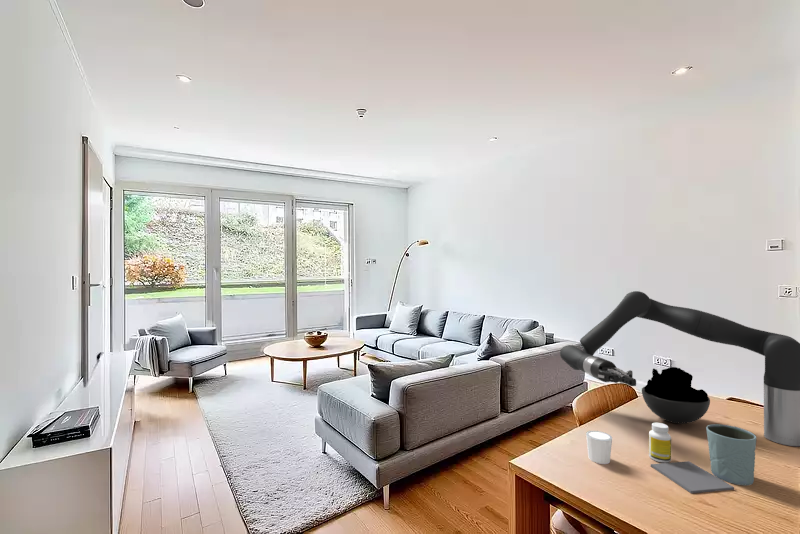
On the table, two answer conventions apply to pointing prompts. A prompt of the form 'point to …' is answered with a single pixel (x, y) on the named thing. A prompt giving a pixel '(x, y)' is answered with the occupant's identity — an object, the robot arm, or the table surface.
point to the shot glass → (599, 446)
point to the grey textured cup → (732, 453)
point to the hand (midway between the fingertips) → (634, 382)
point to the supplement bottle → (660, 443)
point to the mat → (691, 477)
